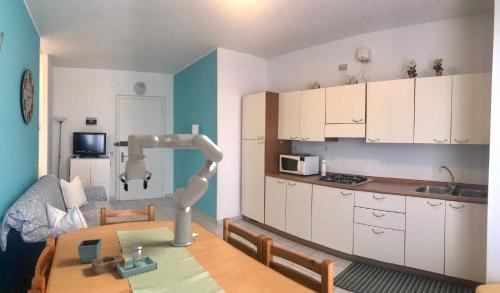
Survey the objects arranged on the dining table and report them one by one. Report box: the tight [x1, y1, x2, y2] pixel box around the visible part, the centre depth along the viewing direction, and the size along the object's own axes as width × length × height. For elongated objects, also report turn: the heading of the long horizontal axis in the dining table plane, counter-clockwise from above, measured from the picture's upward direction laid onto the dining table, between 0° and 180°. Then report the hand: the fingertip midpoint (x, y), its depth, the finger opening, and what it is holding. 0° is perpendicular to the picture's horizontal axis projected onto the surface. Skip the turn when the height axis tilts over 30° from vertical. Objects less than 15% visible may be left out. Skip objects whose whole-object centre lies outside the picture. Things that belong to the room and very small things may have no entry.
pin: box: [131, 244, 143, 269], centre depth 133 cm, size 5×5×10 cm
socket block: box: [91, 253, 126, 277], centre depth 133 cm, size 12×9×4 cm
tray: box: [116, 255, 158, 279], centre depth 133 cm, size 15×11×3 cm
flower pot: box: [77, 238, 103, 264], centre depth 141 cm, size 9×9×9 cm
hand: (135, 189), depth 154 cm, fingers open, 9 cm apart
